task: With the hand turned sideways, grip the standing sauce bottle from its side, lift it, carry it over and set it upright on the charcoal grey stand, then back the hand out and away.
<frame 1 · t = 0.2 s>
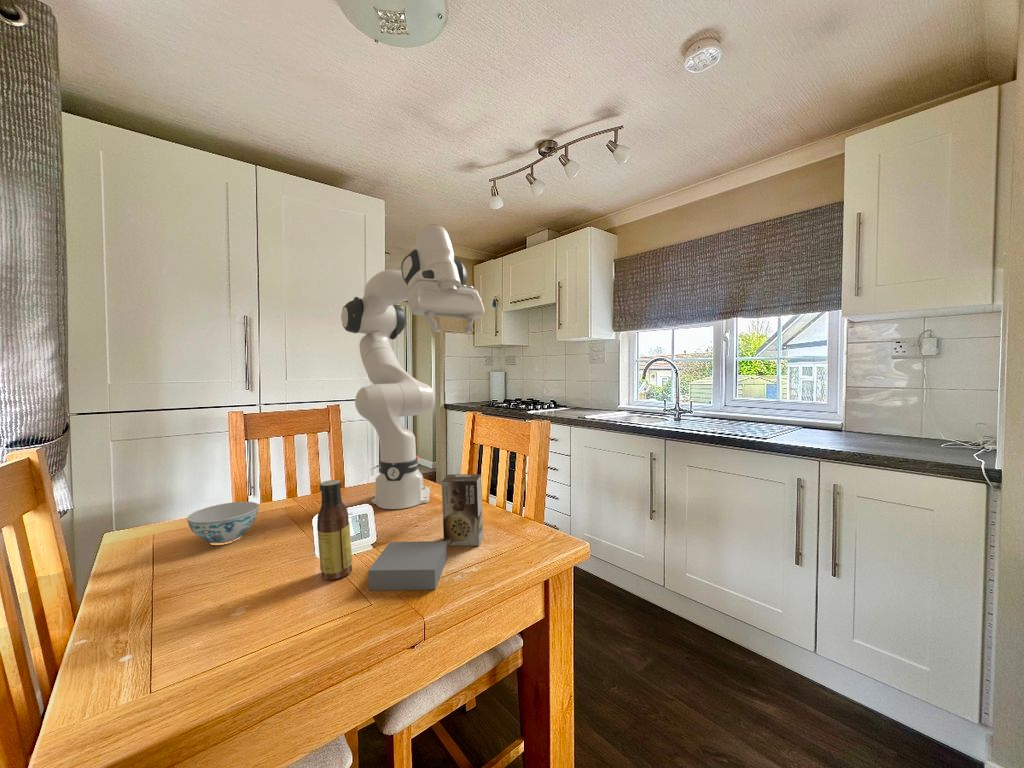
hand: (453, 331, 100), 52 cm above the table, tool tilted 20°, fingers open, 8 cm apart
chinaware: (225, 541, 104), on the table
stand: (411, 573, 85), on the table
coffee box: (463, 541, 101), on the table
sauce bottle: (336, 575, 85), on the table
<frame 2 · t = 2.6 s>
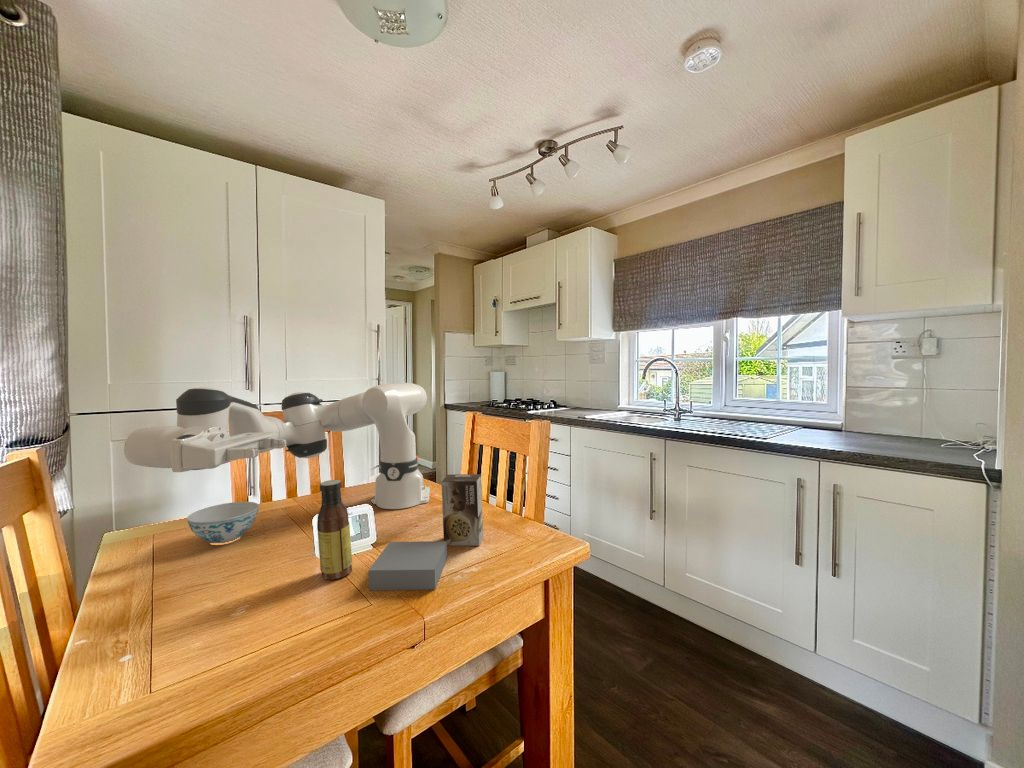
hand: (270, 448, 85), 27 cm above the table, tool horizontal, fingers open, 8 cm apart
nothing on the table moved.
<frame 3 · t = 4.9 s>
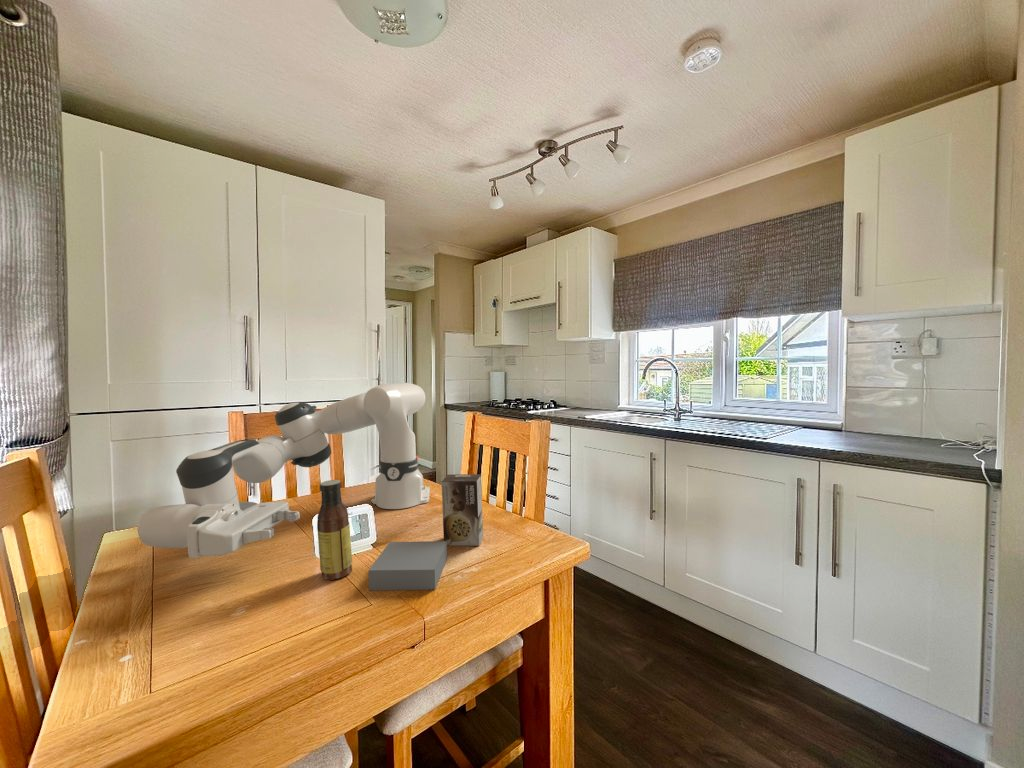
hand: (285, 524, 85), 11 cm above the table, tool horizontal, fingers open, 8 cm apart
nothing on the table moved.
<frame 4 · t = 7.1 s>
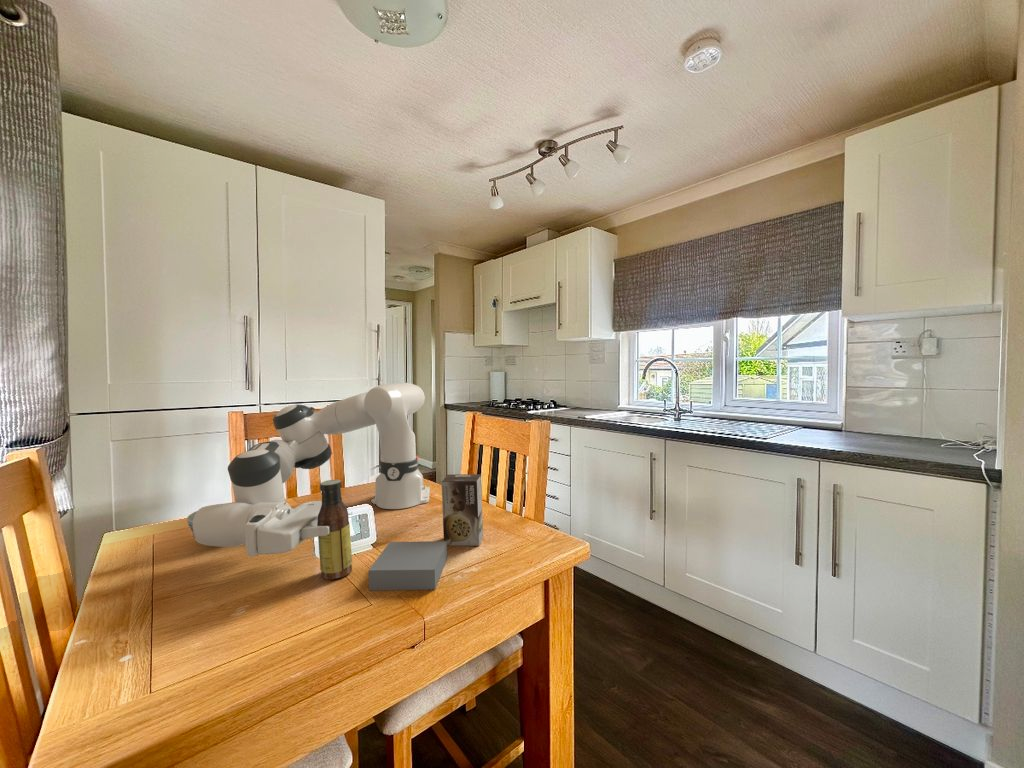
hand: (338, 522, 85), 11 cm above the table, tool horizontal, fingers closed on sauce bottle, 6 cm apart
sauce bottle: (336, 575, 85), on the table, touching gripper
everything else where it was.
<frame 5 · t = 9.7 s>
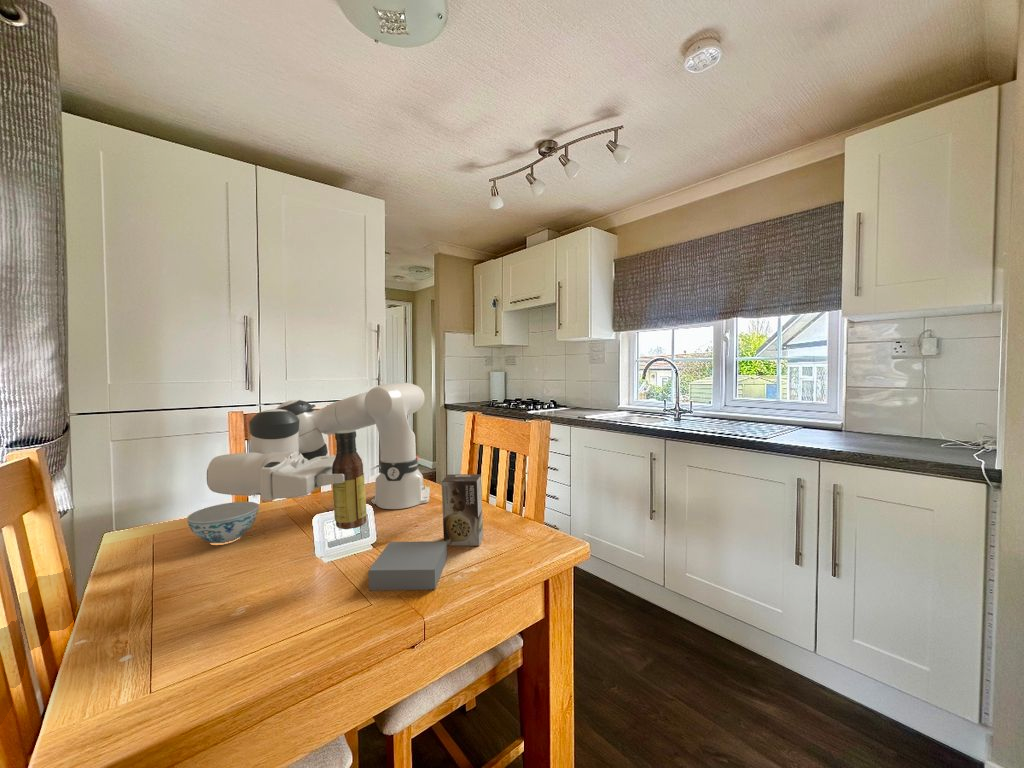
hand: (353, 473, 84), 22 cm above the table, tool horizontal, fingers closed on sauce bottle, 6 cm apart
sauce bottle: (350, 526, 84), point 11 cm above the table, touching gripper
everything else where it was.
when the fingers open (16 cm above the table, at t = 12.4 s): sauce bottle drops 1 cm, resting on stand.
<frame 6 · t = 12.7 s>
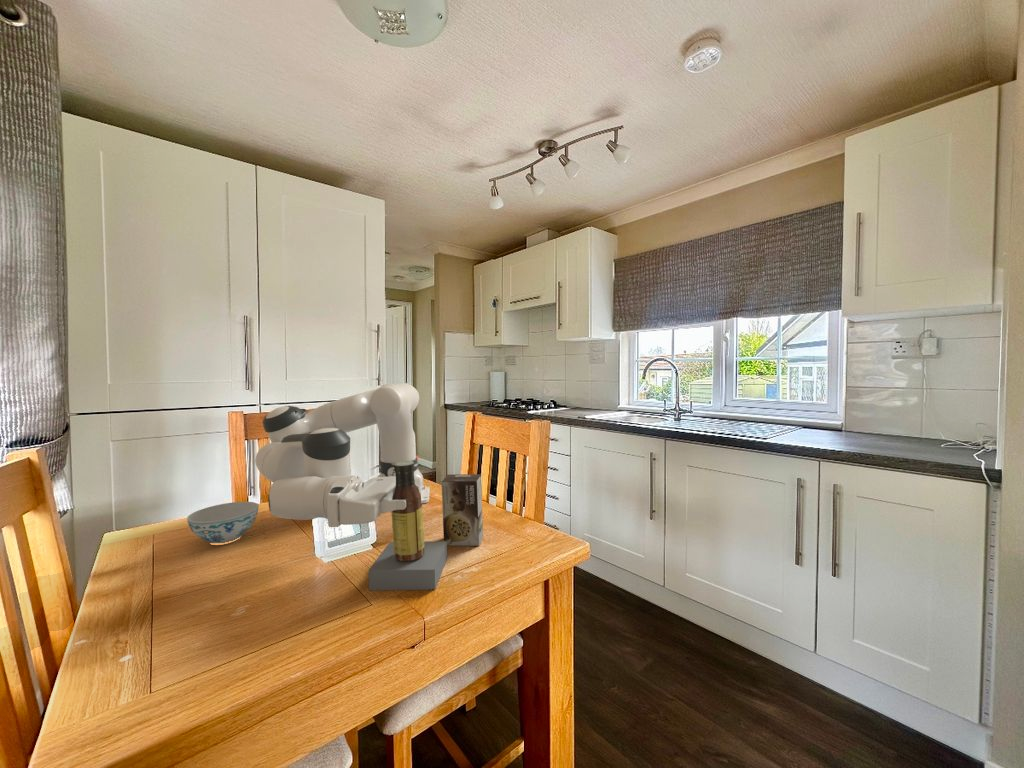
hand: (412, 496, 84), 16 cm above the table, tool horizontal, fingers open, 8 cm apart
sauce bottle: (409, 557, 84), point 4 cm above the table, touching gripper, stand
everything else where it was.
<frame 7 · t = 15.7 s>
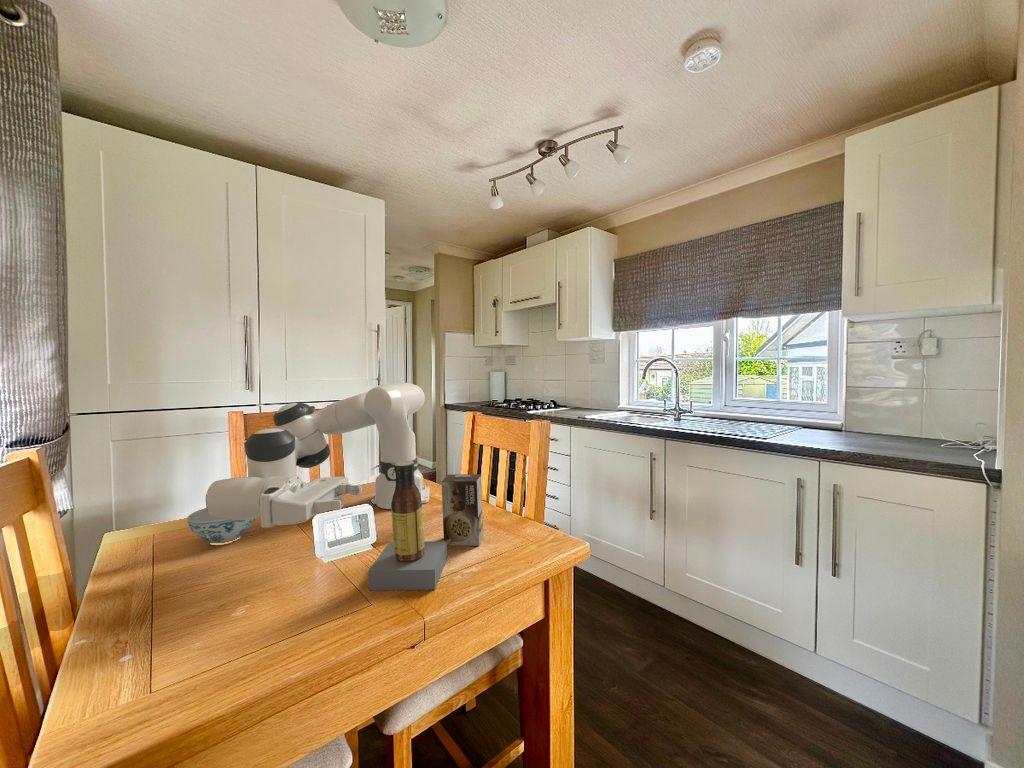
hand: (351, 496, 85), 17 cm above the table, tool horizontal, fingers open, 8 cm apart
sauce bottle: (409, 557, 84), point 4 cm above the table, touching stand
everything else where it was.
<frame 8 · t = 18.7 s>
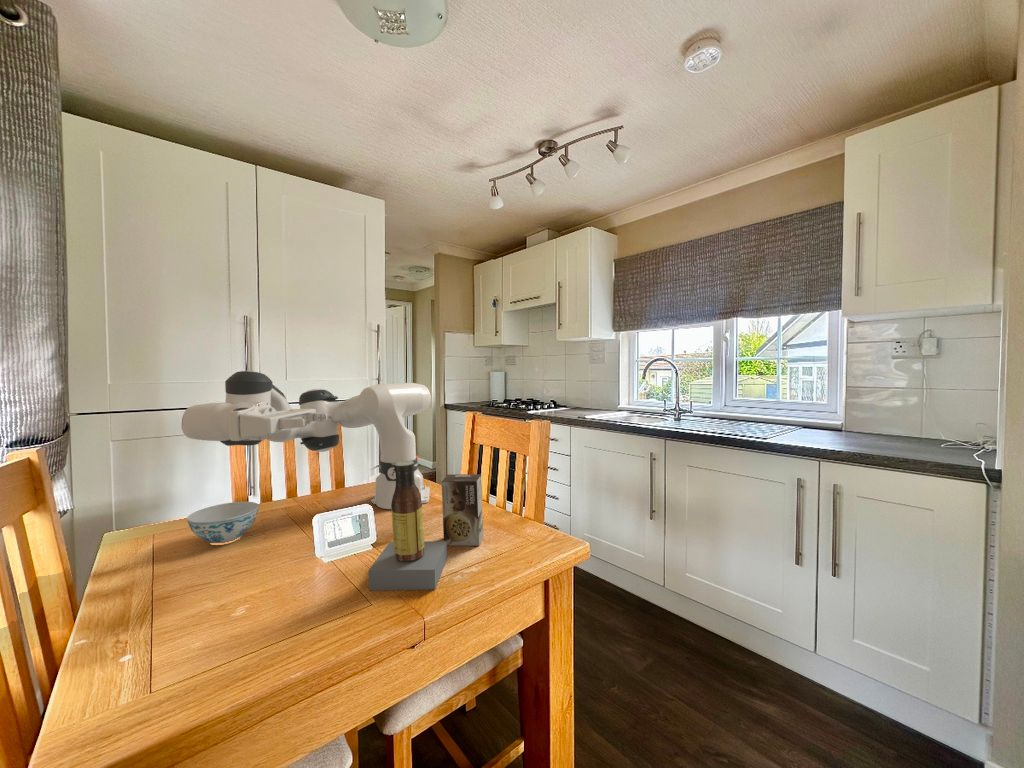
hand: (316, 420, 92), 32 cm above the table, tool horizontal, fingers open, 8 cm apart
nothing on the table moved.
at the end: sauce bottle inside the target area on the stand (0.9 cm from its centre), point 3.8 cm above the stand's base; sauce bottle tilted 0°; the gripper is holding nothing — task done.
